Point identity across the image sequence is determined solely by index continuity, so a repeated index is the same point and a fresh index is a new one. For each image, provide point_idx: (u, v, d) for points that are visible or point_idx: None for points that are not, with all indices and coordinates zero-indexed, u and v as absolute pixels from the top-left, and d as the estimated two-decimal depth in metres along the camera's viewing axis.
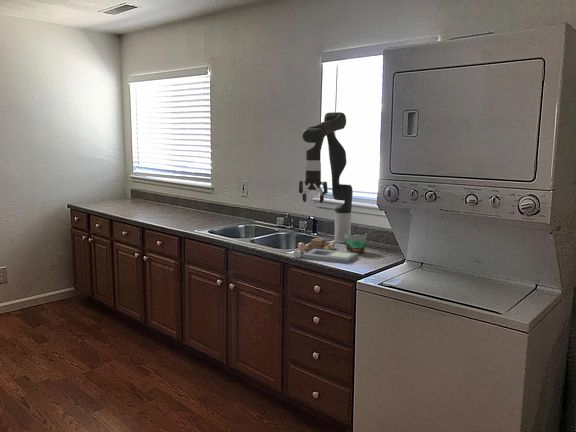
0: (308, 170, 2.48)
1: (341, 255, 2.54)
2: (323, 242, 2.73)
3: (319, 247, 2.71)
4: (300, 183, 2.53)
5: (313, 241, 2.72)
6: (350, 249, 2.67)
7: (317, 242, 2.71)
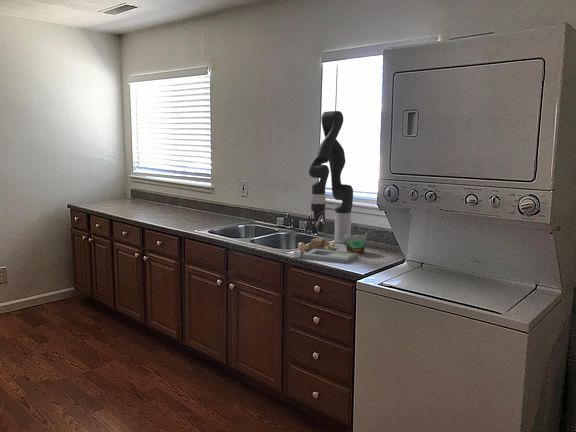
0: (323, 203, 2.68)
1: (341, 255, 2.54)
2: (323, 242, 2.73)
3: (319, 247, 2.71)
4: (315, 217, 2.66)
5: (313, 241, 2.72)
6: (350, 249, 2.67)
7: (317, 242, 2.71)
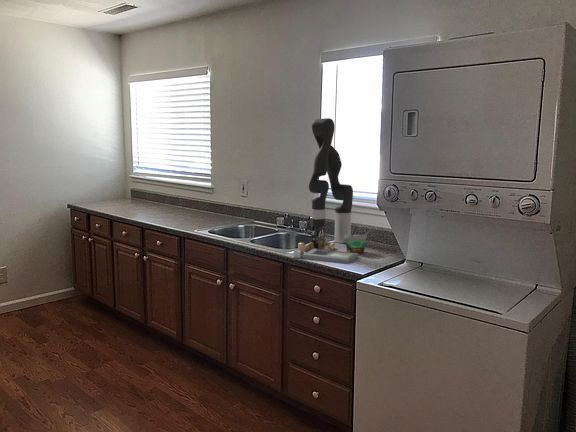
0: (323, 218, 2.69)
1: (341, 255, 2.54)
2: (323, 242, 2.73)
3: (319, 247, 2.71)
4: (315, 233, 2.67)
5: None
6: (350, 249, 2.67)
7: None
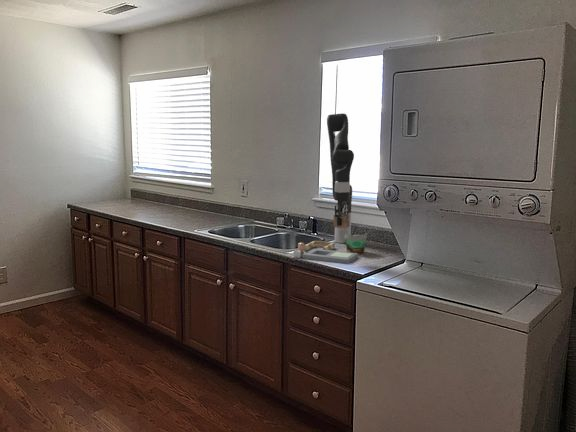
0: (348, 192, 2.48)
1: (341, 255, 2.54)
2: (347, 217, 2.52)
3: (343, 223, 2.50)
4: (339, 208, 2.46)
5: None
6: (350, 249, 2.67)
7: None
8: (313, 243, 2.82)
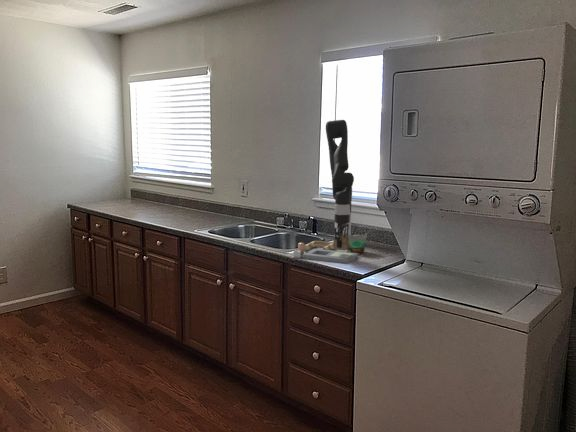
0: (348, 214, 2.50)
1: (341, 255, 2.54)
2: (347, 239, 2.53)
3: (343, 245, 2.51)
4: (339, 230, 2.48)
5: None
6: (350, 249, 2.67)
7: None
8: (313, 243, 2.82)
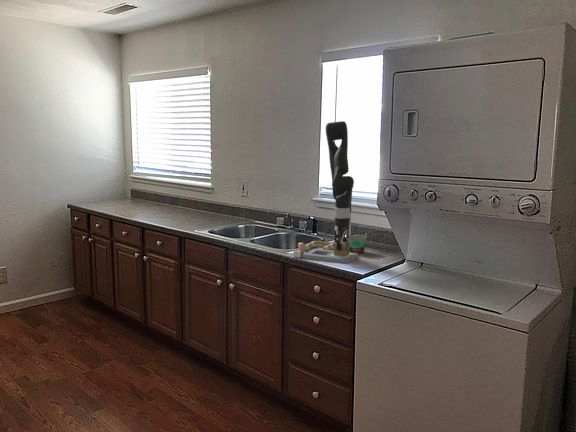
0: (348, 218, 2.50)
1: None
2: (347, 246, 2.54)
3: (343, 251, 2.52)
4: (339, 233, 2.48)
5: (336, 244, 2.53)
6: (350, 249, 2.67)
7: (341, 246, 2.52)
8: (313, 243, 2.82)
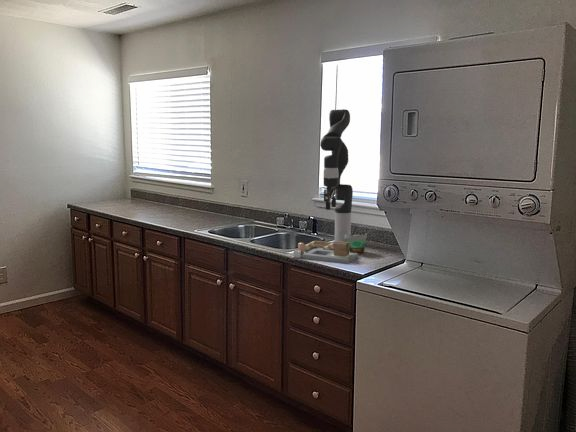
0: (336, 177, 2.56)
1: None
2: (347, 246, 2.54)
3: (343, 251, 2.52)
4: (329, 192, 2.54)
5: (336, 244, 2.53)
6: (350, 249, 2.67)
7: (341, 246, 2.52)
8: (313, 243, 2.82)
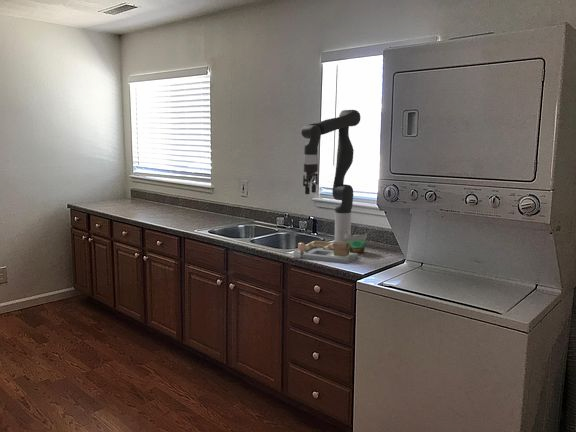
0: (316, 164, 2.70)
1: None
2: (347, 246, 2.54)
3: (343, 251, 2.52)
4: (308, 177, 2.68)
5: (336, 244, 2.53)
6: (350, 249, 2.67)
7: (341, 246, 2.52)
8: (313, 243, 2.82)
